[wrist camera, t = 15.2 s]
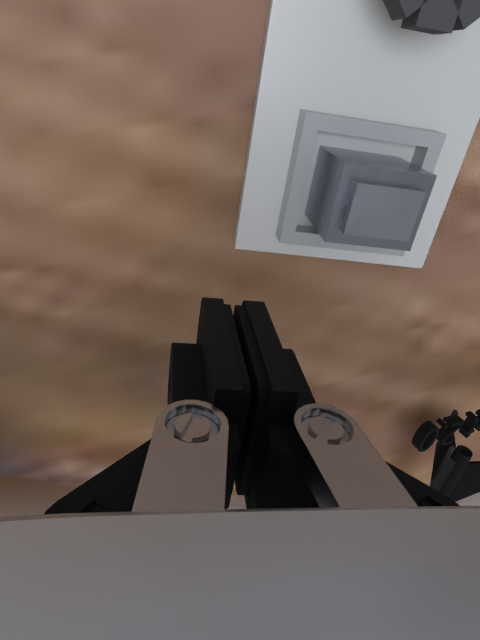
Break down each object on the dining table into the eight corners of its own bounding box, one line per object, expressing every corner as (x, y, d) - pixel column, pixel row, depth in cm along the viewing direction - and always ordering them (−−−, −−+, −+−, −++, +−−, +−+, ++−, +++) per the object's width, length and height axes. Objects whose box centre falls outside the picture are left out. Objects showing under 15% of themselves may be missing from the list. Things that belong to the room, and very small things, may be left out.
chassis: (415, 262, 38) (449, 293, 33) (233, 243, 36) (240, 273, 31) (552, -106, 27) (635, -143, 22) (295, -174, 24) (323, -233, 19)
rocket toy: (589, 442, 35) (463, 601, 47) (536, 391, 41) (435, 545, 52) (425, 429, 33) (334, 601, 44) (392, 377, 38) (318, 542, 49)
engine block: (377, 222, 35) (415, 255, 29) (304, 213, 34) (328, 246, 28) (398, 156, 32) (443, 178, 27) (319, 145, 32) (349, 165, 26)
